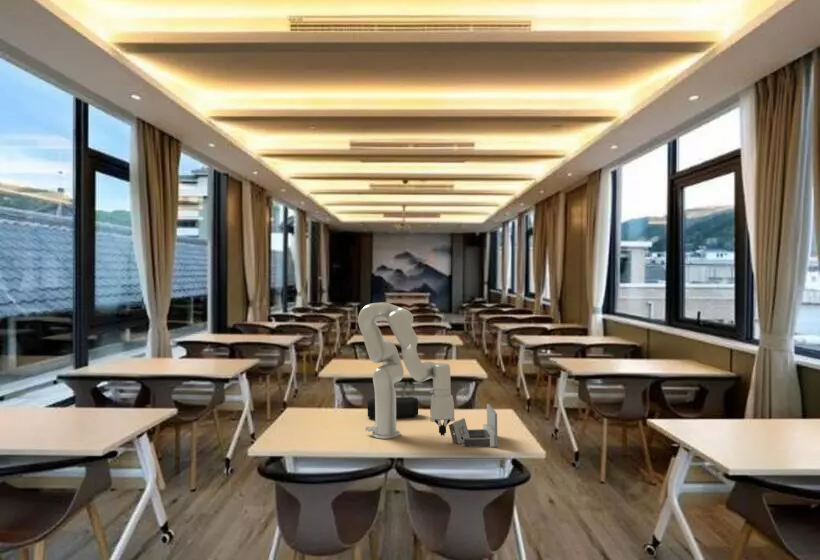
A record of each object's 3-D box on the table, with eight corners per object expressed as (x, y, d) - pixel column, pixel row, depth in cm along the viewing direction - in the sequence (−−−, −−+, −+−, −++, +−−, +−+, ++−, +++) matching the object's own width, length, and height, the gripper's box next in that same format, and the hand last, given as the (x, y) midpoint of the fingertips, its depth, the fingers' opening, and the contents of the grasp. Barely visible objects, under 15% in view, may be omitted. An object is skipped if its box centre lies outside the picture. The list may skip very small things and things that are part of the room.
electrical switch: (460, 444, 239) (457, 422, 240) (449, 444, 242) (447, 422, 243) (470, 439, 247) (468, 418, 248) (459, 438, 250) (457, 417, 251)
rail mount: (465, 448, 235) (464, 414, 234) (459, 435, 254) (459, 404, 253) (497, 447, 235) (497, 413, 235) (489, 434, 254) (489, 403, 254)
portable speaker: (367, 420, 282) (367, 400, 282) (367, 415, 292) (367, 396, 292) (418, 418, 284) (418, 399, 284) (416, 414, 294) (416, 394, 294)
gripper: (425, 394, 240) (425, 437, 240) (460, 393, 240) (460, 436, 240) (424, 390, 247) (424, 432, 247) (458, 390, 248) (458, 431, 248)
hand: (442, 434), depth 244 cm, fingers closed
